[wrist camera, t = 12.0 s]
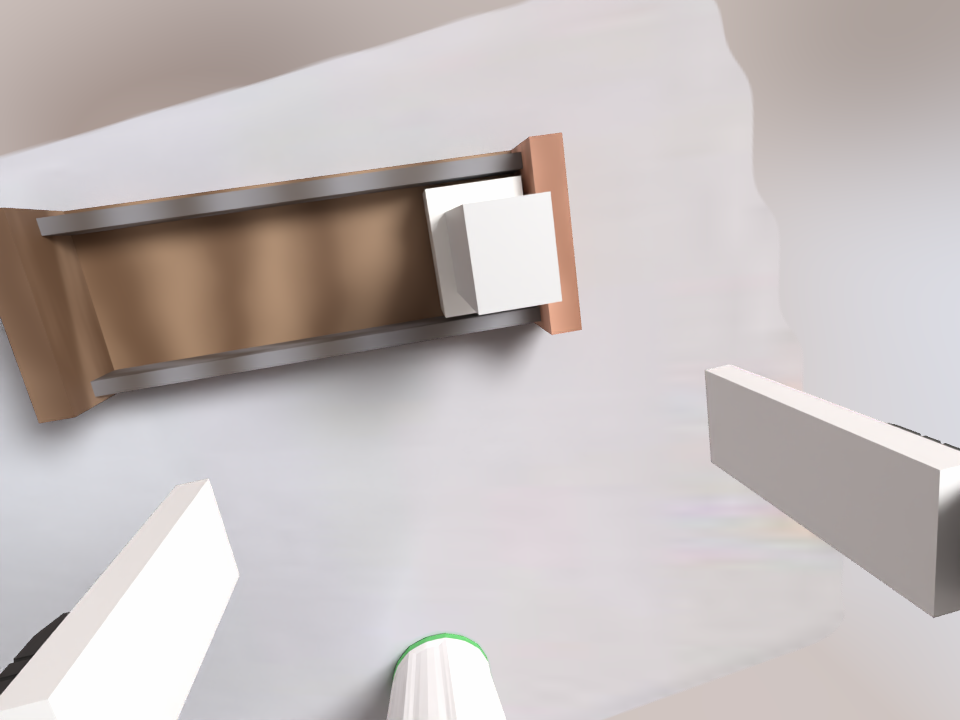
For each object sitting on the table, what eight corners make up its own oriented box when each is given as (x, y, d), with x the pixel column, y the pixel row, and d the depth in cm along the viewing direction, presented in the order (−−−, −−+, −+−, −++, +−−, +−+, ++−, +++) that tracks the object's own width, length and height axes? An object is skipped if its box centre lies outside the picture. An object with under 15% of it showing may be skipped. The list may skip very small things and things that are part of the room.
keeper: (441, 309, 39) (462, 349, 26) (422, 193, 37) (434, 171, 24) (523, 296, 40) (585, 328, 26) (508, 181, 38) (568, 153, 24)
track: (79, 393, 39) (11, 428, 32) (20, 219, 36) (-68, 217, 29) (571, 310, 42) (604, 325, 36) (554, 146, 39) (586, 129, 33)
